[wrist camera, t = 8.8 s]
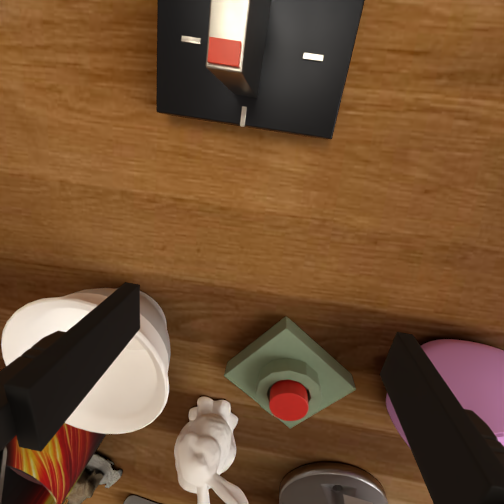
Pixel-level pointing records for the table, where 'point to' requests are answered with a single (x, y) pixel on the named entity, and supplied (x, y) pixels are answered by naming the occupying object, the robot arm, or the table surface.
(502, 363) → the teapot
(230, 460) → the rabbit
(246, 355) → the button box
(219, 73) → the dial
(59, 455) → the mug
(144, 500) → the half round rod
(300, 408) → the button
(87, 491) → the skull
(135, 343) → the bowl
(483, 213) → the table surface
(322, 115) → the control panel
